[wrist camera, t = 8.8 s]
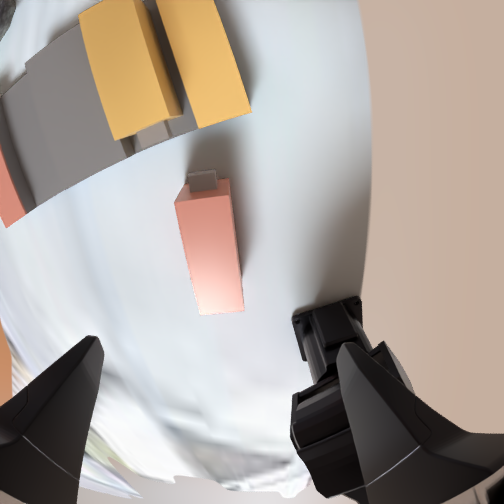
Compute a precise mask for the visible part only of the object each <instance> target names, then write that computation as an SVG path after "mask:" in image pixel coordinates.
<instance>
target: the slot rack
mask: <svg viewBox="0 0 504 504" xmlns="http://www.w3.org/2000/svg"><path fill="white" fill-rule="evenodd" d="M143 3H144V4H145V5H146V7H147V8H148V9H149V11H150V14H151V18H152V21H153V24H154V27H155V30H156V34H157V37H158V40H159V43H160V46H161V49H162V52H163V55H164V59H165V62H166V65H167V68H168V71H169V74H170V77H171V80H172V83H173V86H174V89H175V92H176V95H177V98H178V101H179V104H180V107H181V110H182V113H183V115H182V116H180V117H177V118H174V119H172V120H169V121H168V124H169V127H170V129H171V132H172V135H173V136H172V137H170V138H168V139H165V140H163V141H160V142H158V143H155V144H153V145H150V146H148V147H146V148H143V149H142V147H141V144H140V142H139V139H138V136H137V134H134V135H131V136H128V137H125V138H122V139H119V140H116V141H115V140H114V138H113V135H112V132H111V129H110V126H109V124H108V121H107V118H106V115H105V112H104V109H103V106H102V103H101V100H100V96H99V93H98V90H97V87H96V84H95V80H94V77H93V73H92V70H91V66H90V63H89V59H88V55H87V52H86V48H85V44H84V40H83V35H82V31H81V27H80V23H79V24H77V25H76V26H74V27H73V28H71V29H70V30H68V31H67V32H65V33H64V34H62V35H61V36H59V37H58V38H56V39H55V40H54V41H52V42H51V43H50V44H48V45H47V46H46V47H44V48H43V49H42V50H40V51H39V52H38V53H37V54H35V55H34V56H33V57H32V58H31V59H29V60H28V61H27V62H26V63H25V67H26V72H27V74H25V75H24V76H23V77H22V78H21V79H20V80H19V81H17V82H16V83H15V84H14V85H13V86H12V87H11V88H10V89H9V90H8V91H7V92H6V93H5V94H4V95H3V96H2V97H1V98H0V216H1V219H2V221H3V223H4V225H5V227H6V228H7V227H9V226H10V225H12V224H13V223H14V222H16V221H17V220H19V219H20V218H22V217H23V216H25V215H26V214H27V213H29V212H30V211H32V210H33V209H35V208H36V207H37V206H39V205H41V204H42V203H44V202H45V201H47V200H49V199H50V198H52V197H53V196H55V195H57V194H58V193H60V192H62V191H64V190H66V189H68V188H70V187H72V186H73V185H75V184H77V183H79V182H81V181H82V180H84V179H86V178H88V177H90V176H92V175H94V174H96V173H98V172H100V171H102V170H104V169H106V168H108V167H110V166H112V165H114V164H116V163H118V162H120V161H122V160H124V159H126V158H128V157H130V156H132V155H134V154H136V153H138V152H140V151H143V150H145V149H147V148H150V147H152V146H154V145H157V144H159V143H162V142H164V141H167V140H169V139H172V138H174V137H177V136H179V135H182V134H185V133H187V132H190V131H193V130H196V129H200V128H203V127H206V126H209V125H212V124H215V123H218V122H221V121H225V120H228V119H231V118H234V117H238V116H241V115H244V114H248V113H251V112H252V111H251V108H250V104H249V101H248V98H247V95H246V92H245V89H244V86H243V83H242V80H241V77H240V74H239V71H238V68H237V65H236V62H235V59H234V56H233V53H232V50H231V47H230V44H229V41H228V38H227V36H226V33H225V30H224V27H223V24H222V22H221V19H220V16H219V13H218V11H217V8H216V5H215V3H214V0H145V1H143Z"/></svg>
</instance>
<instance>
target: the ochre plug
mask: <svg viewBox="0 0 504 504" xmlns="http://www.w3.org/2000/svg"><path fill="white" fill-rule="evenodd" d="M78 18H79V22H80V27H81V31H82V35H83V40H84V44H85V48H86V52H87V55H88V59H89V63H90V66H91V70H92V73H93V77H94V80H95V84H96V87H97V90H98V93H99V96H100V100H101V103H102V106H103V109H104V112H105V115H106V118H107V121H108V124H109V126H110V129H111V132H112V135H113V138H114V140H115V141H116V140H119V139H122V138H125V137H128V136H131V135H134V134H137V136H138V139H139V142H140V144H141V147H142V149H143V148H146V147H148V146H150V145H153V144H155V143H158V142H160V141H163V140H165V139H168V138H170V137H172V136H173V135H172V132H171V129H170V127H169V124H168V121H169V120H172V119H174V118H177V117H180V116H182V115H183V113H182V110H181V107H180V104H179V101H178V98H177V95H176V92H175V89H174V86H173V83H172V80H171V77H170V74H169V71H168V68H167V65H166V62H165V59H164V55H163V52H162V49H161V46H160V43H159V40H158V37H157V34H156V30H155V27H154V24H153V21H152V18H151V14H150V11H149V9H148V8H147V7H146V5H145V4H144V3H143V2H142V1H141V0H103V1H101V2H99V3H98V4H96V5H94V6H92V7H91V8H89V9H87V10H85V11H84V12H82V13H80V14H79V15H78Z"/></svg>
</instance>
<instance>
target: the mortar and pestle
mask: <svg viewBox="0 0 504 504" xmlns="http://www.w3.org/2000/svg"><path fill="white" fill-rule="evenodd" d="M15 9H16V6H15V3H14V0H0V41H1V39H2V38H3V36H4V35H5V33H6V31H7V30H8V28H9V27H10V24H11V21H12V18H13V15H14V12H15Z"/></svg>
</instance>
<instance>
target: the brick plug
mask: <svg viewBox="0 0 504 504" xmlns="http://www.w3.org/2000/svg"><path fill="white" fill-rule="evenodd" d="M187 177H188V183H189V184H184V186H183V188H182V189H181V191H180V193H179V195H178V196H177V198H176V200H175V202H174V204H175V209H176V214H177V219H178V224H179V229H180V233H181V238H182V243H183V247H184V251H185V256H186V260H187V264H188V269H189V273H190V277H191V281H192V285H193V289H194V293H195V297H196V301H197V304H198V308H199V312H200V315H210V314H220V313H230V312H239V311H244V300H243V288H242V277H241V269H240V262H239V254H238V246H237V239H236V231H235V223H234V215H233V207H232V199H231V191H230V183H229V178H226V179H218V180H217V176H216V169H212V170H205V171H198V172H191V173H189V175H188V176H187Z"/></svg>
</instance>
